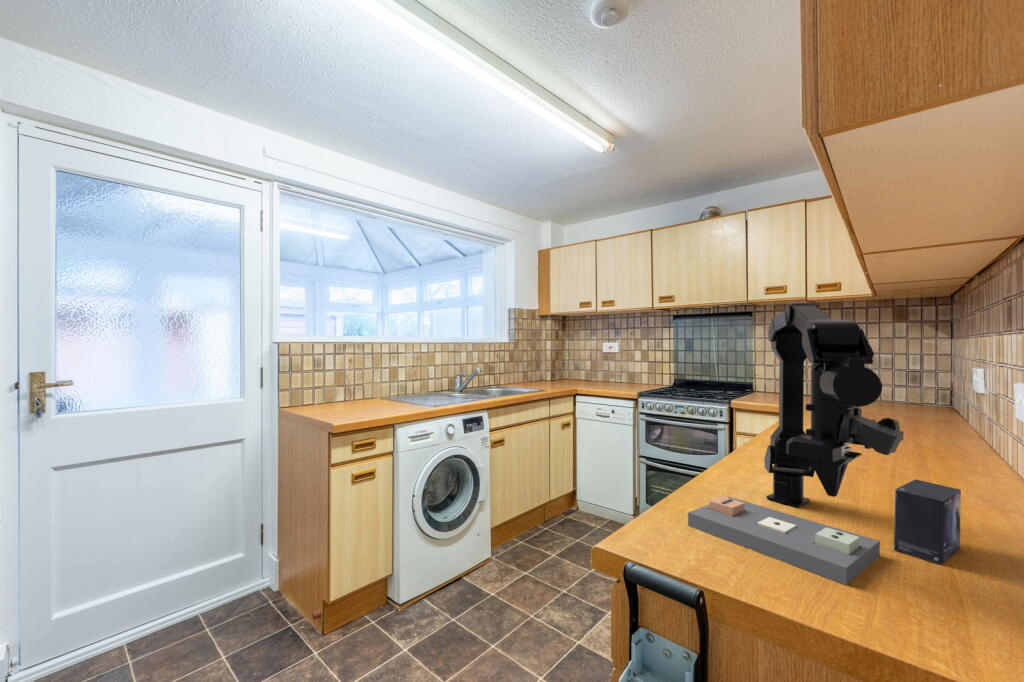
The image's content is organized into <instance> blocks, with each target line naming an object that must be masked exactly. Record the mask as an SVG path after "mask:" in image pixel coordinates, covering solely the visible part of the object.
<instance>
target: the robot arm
mask: <svg viewBox="0 0 1024 682" xmlns="http://www.w3.org/2000/svg"><path fill="white" fill-rule="evenodd" d="M767 333H768V334H767V335H768V342H770V346H771V347H770V348H771V351H772V352H773V353H774V355H775V356H776V357H777V359H778V361H779V362H778V363H779V377H778V379H779V380H778V381H779V382H778V383H779V384H778V385H779V387H778V389H779V390H778V391H779V392H778V393H779V394H778V426H777V428H775V430H774V431H773V433H772V434H771V435H770V437H769V438H770V440H769V441H770V442H769V445H767V448H766V451H765V455H764V458H763V460H764V469H765V470H766V471H767V473H768V474H772V475H773V476H772V493H770V494H768V495H766V496H765V497H766V499H767V500H771V501H773V502H774V501H775V502H778V503H781V504H785V505H789V506H791V507H796V508H800V507H801V506H804V505H805V504H808V503H809V502H811V499H810V498H808V497H804V494H805V493H804V486H805V485H804V484H805V483H804V477H810V478H814V476H815V474H816V476H817V479H819V481H820V483H821V485H822V487H823V489H824V491H825V493H826V495H827V496H829V497H837V496H838V494H839V491H840V488H841V486H842V482H843V480H844V477H845V473H846V470H847V467H848V465H849V463H851V462H852V461H855V459H857V458H859V457H861V456H862V453H861V452H858V451H857V452H856V451H852V447H851V446H849V444H851V445H858V446H863V447H864V449H867V450H871V449H873V450H874V451H875V452H876V453H878V454H881V455H884V456H890V454H892V453H893V454H894V453H896V451H897V448H898V447H899V445H900V443H901V442H902V441H904V435H905V434H904V431H903V430H901V429H900V423H899V421H898V420H896V419H893V418H891V417H887V416H886V417H883V418H882V419H879V421H876V419H870V418H866V417H864V416H863V415H862V408H861V407H866V406H869V405H871V404H873V403H875V402H877V400H878V399H879V398H880V396H881V394H882V391H883V384H882V381H881V379H880V377H879V376H878V375H877V373H876V372H875V371H873V370H872V369H870V368H868V367H866V366H865V365H873V364H874V359H873V357H874V355H875V352H874V350H873V348H872V346H871V344H870V342H869V340H868V338H867V336H866V335H865V334H866V333H865V332H864V330H863V328H861V327H860V325H859V323H858V322H856V321H853V320H848V319H835V318H832V317H831V316H829V315H828V314H827V313H825V312H824V311H823V310H821V309H820V308H819V306H818V304H817V303H813V302H792V303H790V304H787V305H786V306H785V308H784V310H783V311H781V312H780V313H778V314H777V315H775V316H773V317H772V318H771V321H770V323H769V326H768V332H767ZM806 360H808V363H810V365H811V366H810V403H806V404H805V411H809V412H810V428H805V430H804V399H805V398H804V397H805V396H804V395H805V394H804V393H805V391H804V390H805V389H804V387H805V383H804V380H805V361H806Z"/></svg>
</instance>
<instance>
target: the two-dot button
mask: <svg viewBox="0 0 1024 682" xmlns="http://www.w3.org/2000/svg"><path fill="white" fill-rule="evenodd" d="M815 544H817V545H820V546H823V547H826V548H829V549H832V550H835V551H838V552H841V553H844V554H847V555H850V556H851V555H852V554H853V553H855V552H856V551H857V550H859V537H857V536H854V535H851V534H847V533H844V532H841V531H837V530H834V529H830V528H827V527H826V528H824V529H823V530H821V531H819V532H818V533H816V534H815Z"/></svg>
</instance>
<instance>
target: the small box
mask: <svg viewBox="0 0 1024 682" xmlns="http://www.w3.org/2000/svg"><path fill="white" fill-rule="evenodd" d="M961 493H962V489H960V488H956V487H955V488H954V487H951V486H946V485H942V484H938V483H933V482H928V481H924V480H920V479H913V480H911V481H909V482H907V483H905V484H903V485H901V486H899V487H897V488H895V489H894V528H893V530H894V531H893V533H894V534H893V550H894V551H898V552H900V553H904V554H907V555H910V556H913V557H915V558H918V559H922V560H925V561H927V562H931V563H934V564H937V565H941V566H942V565H944V564H945V563H946V562H948V560H950V559H951V557H953V556H954V555H955V554H956V553H957V552H958V551H960V550H961V513H962V512H961V510H962V509H961V506H962V505H961V499H962V498H961V497H962V495H961Z"/></svg>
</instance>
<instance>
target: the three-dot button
mask: <svg viewBox="0 0 1024 682" xmlns="http://www.w3.org/2000/svg"><path fill="white" fill-rule="evenodd" d="M708 505H709V509H710V510H713V511H717V512H720V513H723V514H726V515H729V516H732V517H734V516H736V515H739V514H741V513H743V512H744V503H743V502H739V501H736V500H733V499H729V498H727V497H726V496H718V497H717V498H713V499H711V500H709V504H708Z"/></svg>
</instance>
